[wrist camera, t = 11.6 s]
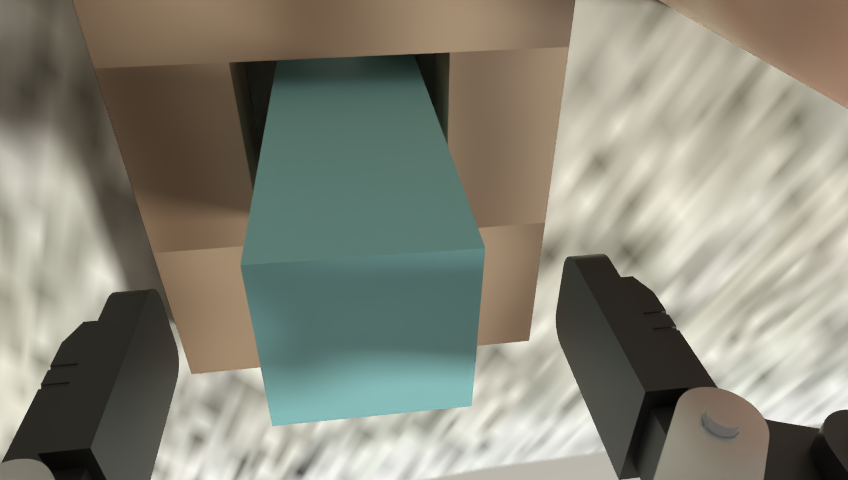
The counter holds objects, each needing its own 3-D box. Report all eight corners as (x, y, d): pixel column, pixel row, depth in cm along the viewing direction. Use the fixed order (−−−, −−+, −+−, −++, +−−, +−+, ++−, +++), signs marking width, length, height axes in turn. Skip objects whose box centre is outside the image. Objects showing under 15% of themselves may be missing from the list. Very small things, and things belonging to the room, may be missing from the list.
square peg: (413, 53, 18) (485, 248, 10) (413, 171, 21) (471, 405, 13) (277, 57, 18) (240, 265, 10) (292, 177, 20) (272, 425, 12)
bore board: (564, -194, 15) (601, -194, 13) (511, 296, 24) (528, 340, 22) (55, -193, 14) (10, -193, 12) (202, 324, 23) (191, 374, 21)
